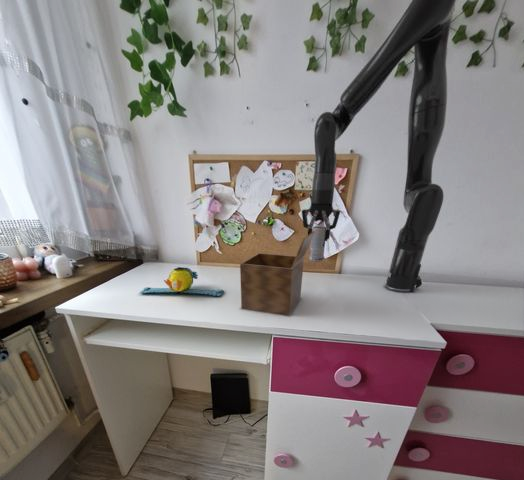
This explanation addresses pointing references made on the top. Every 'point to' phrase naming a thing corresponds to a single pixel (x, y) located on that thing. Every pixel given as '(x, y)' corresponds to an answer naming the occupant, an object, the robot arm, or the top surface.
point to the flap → (303, 247)
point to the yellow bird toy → (182, 283)
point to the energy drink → (317, 244)
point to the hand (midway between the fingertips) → (318, 240)
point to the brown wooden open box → (271, 283)
